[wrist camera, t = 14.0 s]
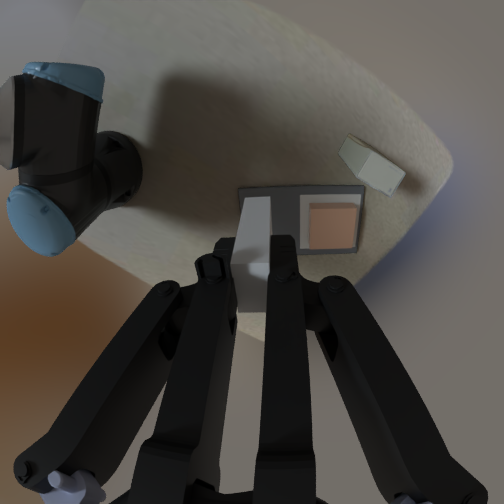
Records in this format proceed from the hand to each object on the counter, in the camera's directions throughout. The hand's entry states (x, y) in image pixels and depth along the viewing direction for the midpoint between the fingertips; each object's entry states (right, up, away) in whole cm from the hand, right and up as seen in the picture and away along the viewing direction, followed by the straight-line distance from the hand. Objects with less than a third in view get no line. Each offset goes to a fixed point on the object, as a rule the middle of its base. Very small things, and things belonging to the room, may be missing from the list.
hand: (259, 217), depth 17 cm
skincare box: (+17, +15, +25) cm, 33 cm away
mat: (+9, +3, +33) cm, 34 cm away
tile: (+10, +2, +31) cm, 32 cm away
